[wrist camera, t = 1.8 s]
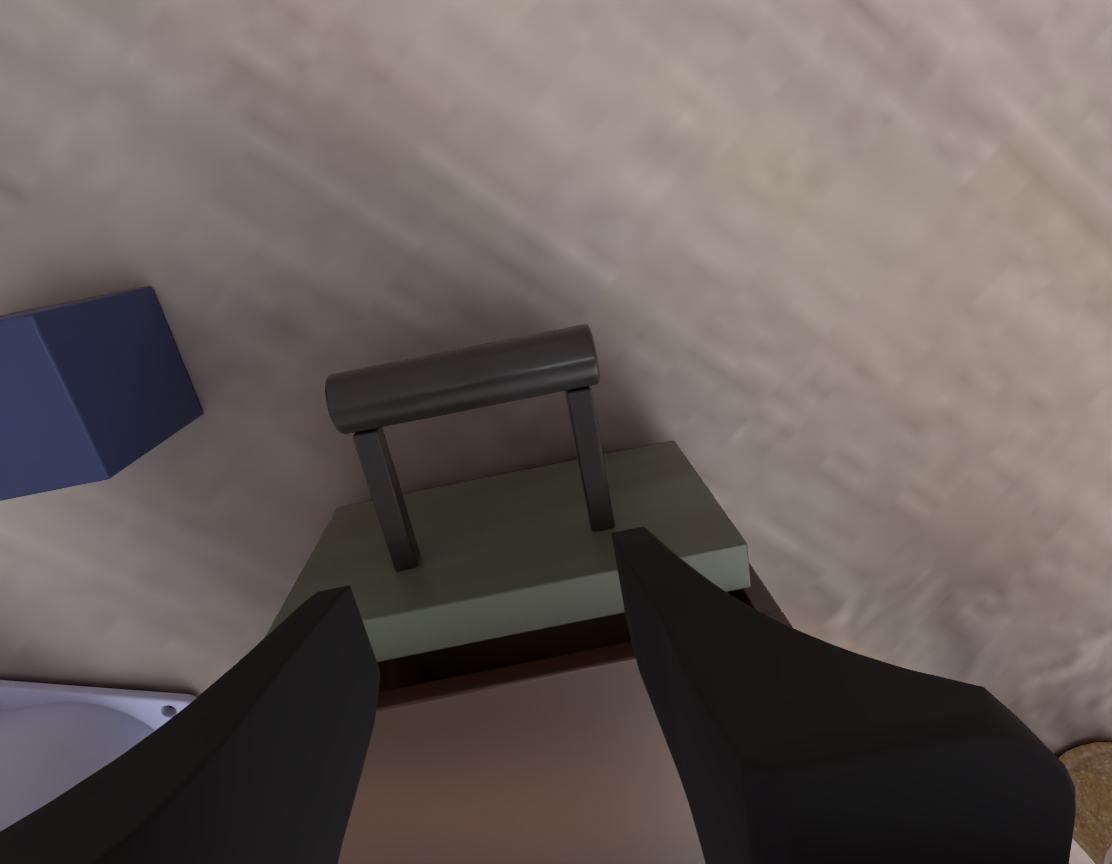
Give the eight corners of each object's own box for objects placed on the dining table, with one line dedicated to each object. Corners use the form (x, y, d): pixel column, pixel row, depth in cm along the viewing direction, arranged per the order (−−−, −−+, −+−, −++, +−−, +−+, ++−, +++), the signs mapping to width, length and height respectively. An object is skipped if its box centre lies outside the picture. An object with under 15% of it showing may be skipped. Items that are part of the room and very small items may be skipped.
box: (204, 414, 20) (109, 479, 15) (65, 441, 20) (-74, 515, 15) (152, 285, 18) (30, 313, 14) (3, 315, 18) (-171, 353, 14)
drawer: (284, 353, 18) (172, 428, 12) (653, 280, 19) (727, 318, 12) (432, 786, 24) (408, 983, 18) (711, 729, 25) (780, 907, 18)
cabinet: (341, 546, 22) (250, 735, 14) (691, 476, 22) (793, 625, 14) (437, 819, 26) (407, 1076, 18) (725, 761, 26) (816, 992, 19)
